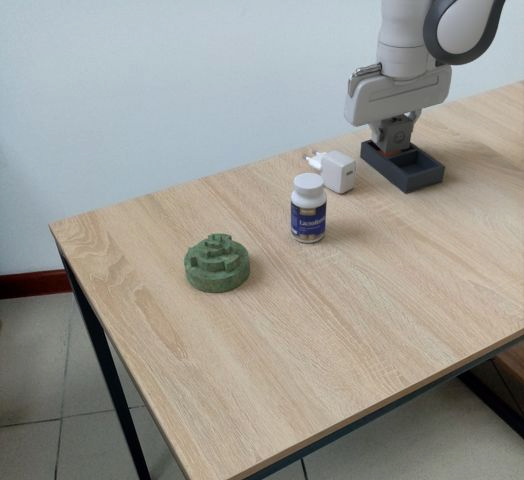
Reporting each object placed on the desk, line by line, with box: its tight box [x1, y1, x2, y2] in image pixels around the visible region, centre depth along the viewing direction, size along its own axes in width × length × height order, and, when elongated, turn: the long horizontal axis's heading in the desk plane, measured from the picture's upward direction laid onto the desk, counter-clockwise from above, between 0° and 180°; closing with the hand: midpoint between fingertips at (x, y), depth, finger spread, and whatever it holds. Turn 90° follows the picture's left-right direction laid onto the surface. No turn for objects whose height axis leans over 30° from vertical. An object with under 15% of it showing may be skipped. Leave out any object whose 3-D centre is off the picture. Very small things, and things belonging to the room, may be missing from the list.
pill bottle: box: [290, 172, 328, 244], centre depth 85 cm, size 6×6×10 cm
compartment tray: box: [359, 138, 446, 194], centre depth 100 cm, size 8×15×3 cm, turn 25°
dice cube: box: [374, 114, 413, 153], centre depth 99 cm, size 5×5×5 cm
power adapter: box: [301, 149, 357, 195], centre depth 97 cm, size 11×5×6 cm, turn 38°
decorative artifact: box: [183, 232, 251, 294], centre depth 81 cm, size 10×7×10 cm
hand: (392, 136), depth 100 cm, fingers closed on dice cube, 5 cm apart
